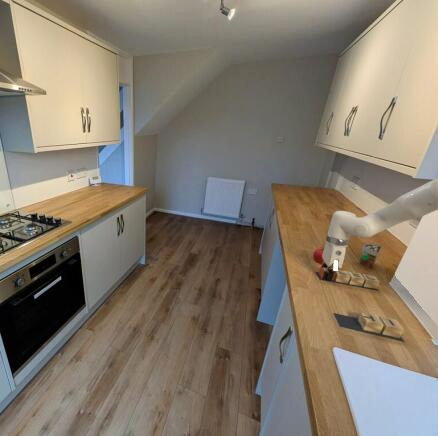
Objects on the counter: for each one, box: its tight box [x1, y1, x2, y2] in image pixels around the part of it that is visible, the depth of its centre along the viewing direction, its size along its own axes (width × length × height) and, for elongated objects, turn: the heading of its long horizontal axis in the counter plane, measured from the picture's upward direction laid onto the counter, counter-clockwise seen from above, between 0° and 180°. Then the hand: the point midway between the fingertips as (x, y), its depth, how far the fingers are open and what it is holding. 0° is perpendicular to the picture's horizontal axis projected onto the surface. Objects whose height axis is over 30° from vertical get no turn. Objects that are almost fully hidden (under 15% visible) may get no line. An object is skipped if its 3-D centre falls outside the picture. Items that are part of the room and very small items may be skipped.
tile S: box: [318, 266, 335, 280], centre depth 106 cm, size 4×4×4 cm
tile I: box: [378, 315, 405, 338], centre depth 77 cm, size 4×4×4 cm
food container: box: [359, 242, 383, 270], centre depth 117 cm, size 12×6×10 cm, turn 130°
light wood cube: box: [361, 273, 380, 289], centre depth 101 cm, size 4×4×4 cm
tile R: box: [334, 269, 350, 284], centre depth 104 cm, size 4×4×4 cm
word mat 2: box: [332, 312, 406, 343], centre depth 80 cm, size 17×7×1 cm, turn 69°
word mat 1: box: [315, 271, 380, 292], centre depth 104 cm, size 21×7×1 cm, turn 69°
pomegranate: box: [312, 245, 332, 266], centre depth 118 cm, size 10×10×9 cm
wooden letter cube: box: [347, 271, 365, 286], centre depth 102 cm, size 4×4×4 cm
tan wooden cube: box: [358, 311, 384, 333], centre depth 79 cm, size 4×4×4 cm
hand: (325, 276), depth 106 cm, fingers closed on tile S, 4 cm apart
